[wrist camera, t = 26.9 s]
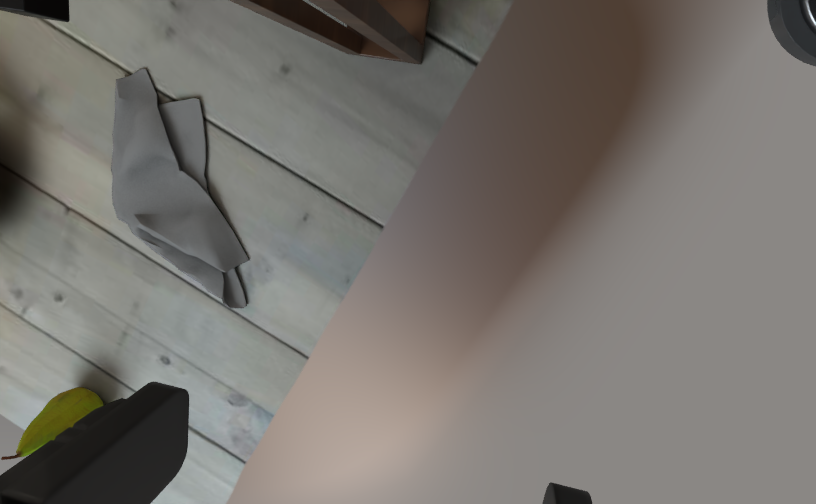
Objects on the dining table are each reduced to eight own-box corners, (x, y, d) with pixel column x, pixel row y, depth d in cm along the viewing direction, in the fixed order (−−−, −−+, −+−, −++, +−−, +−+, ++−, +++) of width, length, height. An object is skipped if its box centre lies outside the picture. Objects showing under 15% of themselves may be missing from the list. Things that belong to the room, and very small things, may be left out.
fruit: (77, 422, 63) (-18, 489, 51) (65, 378, 61) (-35, 436, 50) (121, 424, 62) (34, 493, 50) (110, 379, 60) (18, 439, 49)
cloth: (77, 86, 51) (58, 85, 49) (192, 55, 48) (178, 51, 46) (154, 319, 57) (140, 327, 55) (262, 304, 54) (251, 312, 52)
